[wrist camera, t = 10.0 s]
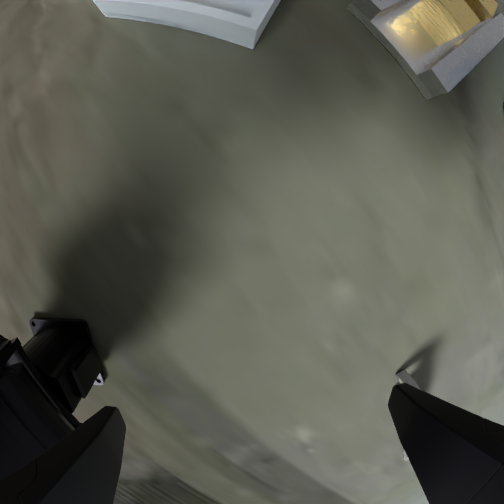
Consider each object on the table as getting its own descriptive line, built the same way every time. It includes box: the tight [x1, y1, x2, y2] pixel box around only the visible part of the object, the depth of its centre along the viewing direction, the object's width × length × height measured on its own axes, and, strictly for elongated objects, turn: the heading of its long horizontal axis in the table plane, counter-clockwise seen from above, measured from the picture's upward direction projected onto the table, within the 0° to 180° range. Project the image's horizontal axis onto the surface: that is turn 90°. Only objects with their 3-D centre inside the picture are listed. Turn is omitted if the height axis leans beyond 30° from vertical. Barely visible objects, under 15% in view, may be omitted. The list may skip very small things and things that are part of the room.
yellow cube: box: [464, 0, 498, 24], centre depth 12 cm, size 4×4×4 cm
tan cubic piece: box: [409, 0, 480, 46], centre depth 13 cm, size 4×4×4 cm
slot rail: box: [346, 0, 504, 100], centre depth 14 cm, size 20×10×3 cm, turn 132°
